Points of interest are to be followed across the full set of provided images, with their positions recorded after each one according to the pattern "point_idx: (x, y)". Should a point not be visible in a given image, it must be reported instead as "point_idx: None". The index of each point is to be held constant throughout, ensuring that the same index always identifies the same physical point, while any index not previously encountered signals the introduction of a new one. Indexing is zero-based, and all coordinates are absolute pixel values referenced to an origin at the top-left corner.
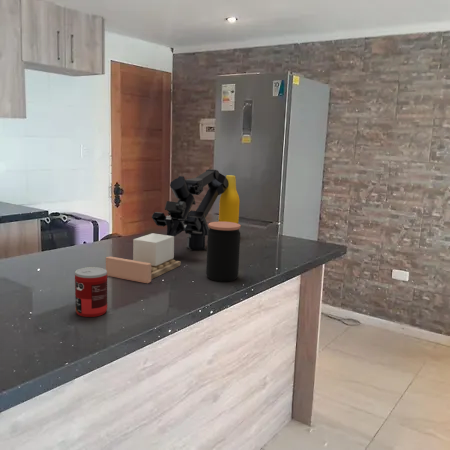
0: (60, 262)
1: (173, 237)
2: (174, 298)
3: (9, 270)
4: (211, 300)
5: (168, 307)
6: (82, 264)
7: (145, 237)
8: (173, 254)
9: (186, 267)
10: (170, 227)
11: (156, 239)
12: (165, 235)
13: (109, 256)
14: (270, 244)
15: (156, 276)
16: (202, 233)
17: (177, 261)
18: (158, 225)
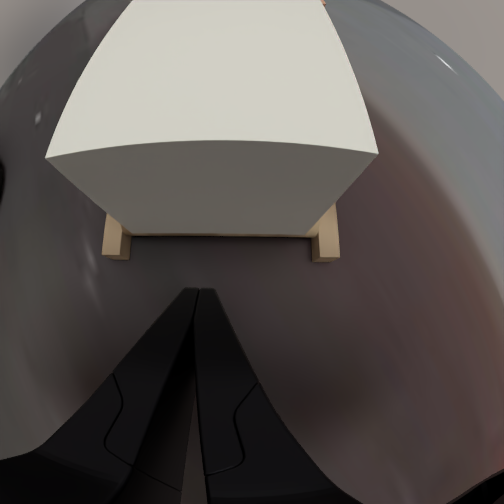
0: (475, 114)
1: (55, 150)
2: (76, 33)
3: (459, 58)
4: (16, 70)
5: (83, 15)
6: (441, 108)
7: (288, 12)
8: (123, 222)
9: (78, 245)
10: (203, 452)
11: (172, 7)
12: (149, 126)
13: (324, 3)
14: None
15: None
16: None
17: (114, 240)
18: (473, 487)
